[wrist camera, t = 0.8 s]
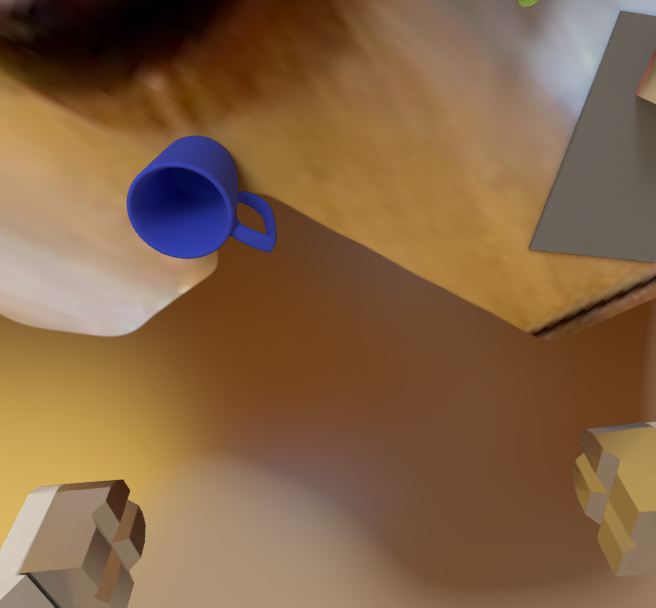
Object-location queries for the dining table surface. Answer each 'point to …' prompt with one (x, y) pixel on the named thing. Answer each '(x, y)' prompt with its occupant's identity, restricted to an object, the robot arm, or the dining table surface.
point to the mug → (194, 202)
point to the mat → (609, 159)
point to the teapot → (527, 2)
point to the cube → (649, 82)
